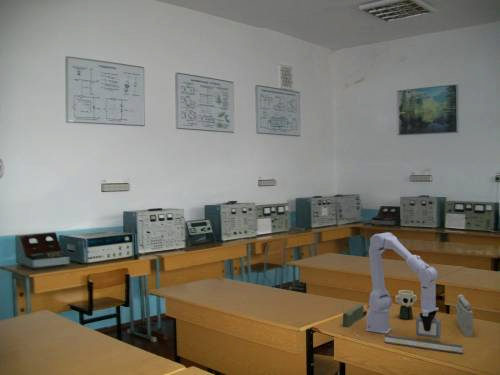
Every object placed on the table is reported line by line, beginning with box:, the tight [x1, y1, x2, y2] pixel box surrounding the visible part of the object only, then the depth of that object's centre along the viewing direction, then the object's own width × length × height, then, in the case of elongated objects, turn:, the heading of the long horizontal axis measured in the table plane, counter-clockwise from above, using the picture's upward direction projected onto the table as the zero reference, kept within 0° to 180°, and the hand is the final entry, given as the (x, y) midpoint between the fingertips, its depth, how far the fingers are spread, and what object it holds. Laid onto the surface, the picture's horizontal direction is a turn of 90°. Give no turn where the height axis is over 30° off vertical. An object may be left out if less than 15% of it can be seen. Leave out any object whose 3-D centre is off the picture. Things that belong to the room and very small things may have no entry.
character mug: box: [394, 289, 418, 320], centre depth 253 cm, size 11×7×13 cm, turn 98°
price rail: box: [384, 334, 464, 355], centre depth 211 cm, size 30×2×3 cm, turn 61°
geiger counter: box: [454, 294, 475, 338], centre depth 236 cm, size 14×6×25 cm
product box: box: [415, 315, 442, 339], centre depth 216 cm, size 5×9×7 cm, turn 62°
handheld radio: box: [342, 303, 368, 328], centre depth 251 cm, size 7×3×25 cm
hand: (428, 329), depth 216 cm, fingers closed on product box, 4 cm apart
